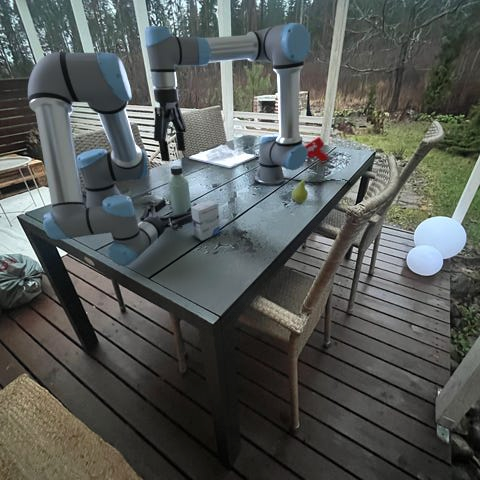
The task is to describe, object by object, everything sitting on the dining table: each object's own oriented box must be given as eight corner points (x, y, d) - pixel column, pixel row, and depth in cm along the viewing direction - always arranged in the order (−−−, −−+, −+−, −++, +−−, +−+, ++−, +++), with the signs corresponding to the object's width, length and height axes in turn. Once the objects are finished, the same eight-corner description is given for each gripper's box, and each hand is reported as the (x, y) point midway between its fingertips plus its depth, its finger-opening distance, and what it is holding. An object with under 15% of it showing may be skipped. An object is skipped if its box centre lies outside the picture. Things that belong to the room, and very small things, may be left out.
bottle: (195, 213, 113) (189, 166, 102) (187, 222, 107) (181, 172, 96) (178, 211, 115) (171, 164, 104) (170, 219, 108) (162, 170, 98)
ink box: (211, 227, 103) (209, 198, 96) (220, 232, 100) (219, 203, 93) (193, 236, 98) (190, 206, 91) (202, 241, 95) (199, 210, 88)
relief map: (230, 168, 162) (230, 159, 159) (189, 158, 180) (188, 150, 177) (256, 157, 180) (256, 149, 177) (216, 149, 198) (215, 142, 195)
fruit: (288, 200, 123) (290, 174, 116) (302, 197, 125) (305, 172, 119) (296, 206, 118) (299, 179, 111) (310, 203, 120) (314, 177, 114)
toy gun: (332, 156, 168) (319, 135, 164) (331, 158, 165) (319, 137, 161) (306, 172, 178) (294, 152, 174) (305, 174, 175) (293, 154, 171)
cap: (184, 172, 102) (183, 166, 101) (179, 175, 99) (178, 169, 97) (174, 171, 103) (173, 165, 102) (169, 174, 100) (168, 168, 98)
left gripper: (119, 234, 94) (154, 208, 111) (184, 246, 88) (210, 217, 105) (114, 215, 90) (150, 191, 107) (181, 226, 84) (208, 199, 101)
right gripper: (171, 85, 97) (178, 146, 109) (133, 90, 77) (147, 165, 88) (190, 85, 96) (196, 147, 107) (157, 91, 75) (168, 166, 87)
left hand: (180, 204), depth 106 cm, fingers open, 13 cm apart
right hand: (174, 155), depth 98 cm, fingers open, 13 cm apart
